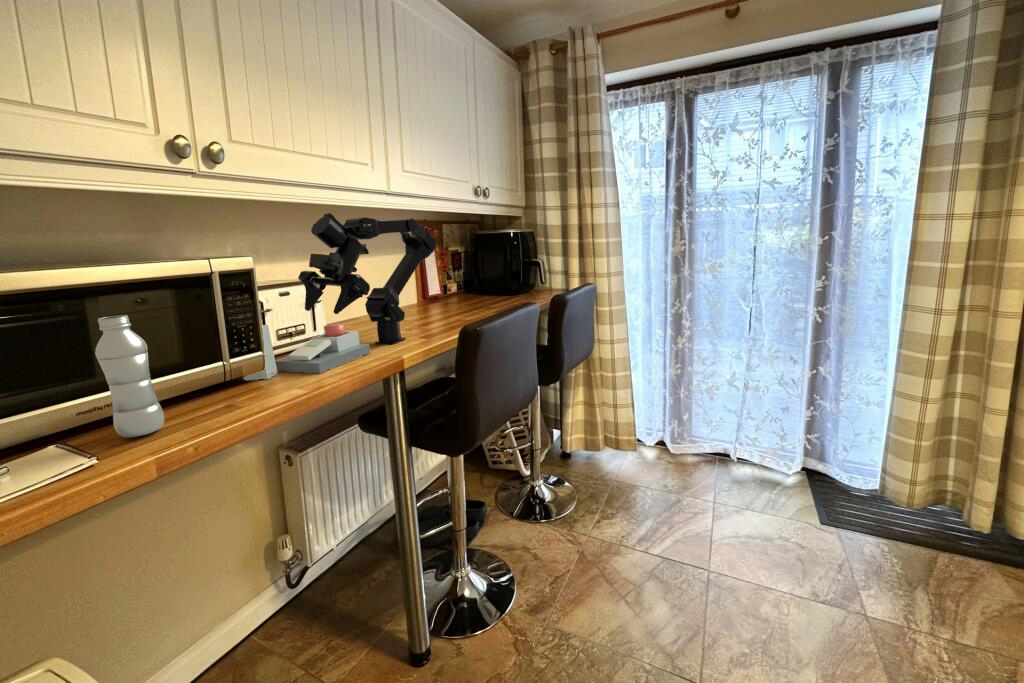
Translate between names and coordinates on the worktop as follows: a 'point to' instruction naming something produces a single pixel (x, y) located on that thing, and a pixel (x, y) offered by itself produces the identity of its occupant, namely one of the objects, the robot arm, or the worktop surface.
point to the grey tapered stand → (266, 359)
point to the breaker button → (334, 330)
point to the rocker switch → (309, 349)
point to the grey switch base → (328, 354)
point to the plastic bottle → (128, 378)
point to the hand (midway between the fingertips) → (320, 311)
